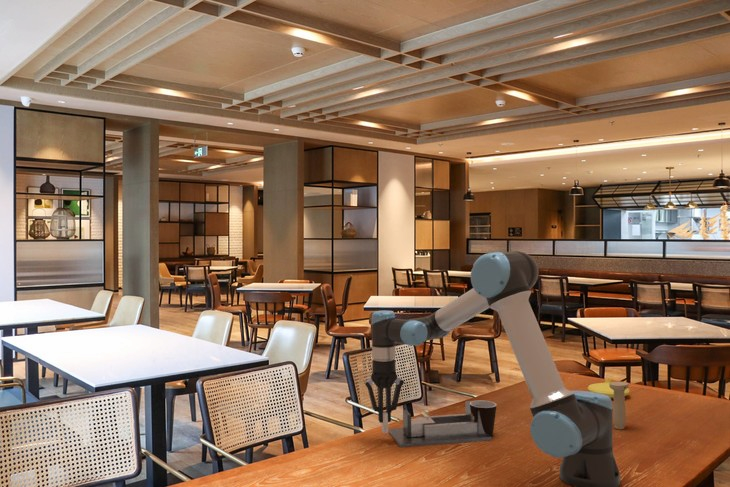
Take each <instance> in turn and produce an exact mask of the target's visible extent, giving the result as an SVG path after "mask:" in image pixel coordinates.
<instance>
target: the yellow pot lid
mask: <svg viewBox="0 0 730 487" xmlns="http://www.w3.org/2000/svg"><path fill="white" fill-rule="evenodd" d="M612 382H613V381H612V378H608V377H607V378H605V379H604V382H598V383H592V384H589V385H588V386H587V392H594V393H600V394H604V395H606V396H608V397H610V399H614V390H613V389H611V388H610V386H609V384H610V383H612ZM630 391H631V390H630V389H629V387H628V388H627V389H626V390H625V391H624V396H625V397H626V396H628V395H629V394H630Z"/></svg>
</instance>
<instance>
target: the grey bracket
mask: <svg viewBox="0 0 730 487" xmlns="http://www.w3.org/2000/svg"><path fill="white" fill-rule="evenodd" d="M411 414H412V413H410V412H409V411H408V410H407V409H402V428H403V432H404V433H405V434H406V436H407V437H416V436H424V425H431V424H435V422H434V421H433V420H432V419H431V418H430V417H429V416H430V415H429V416H428V415H427V414H426V413H425V411H421V414H422V415H423V417H426V418H412V415H411Z"/></svg>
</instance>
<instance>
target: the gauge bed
mask: <svg viewBox="0 0 730 487" xmlns="http://www.w3.org/2000/svg"><path fill="white" fill-rule="evenodd" d="M472 401H473V400H466V401H465V404H464V405H465V413H458V414H455V413H454V414H443V415H442V414H441V415H429V417H430V418H431V419H432V420H433V421H434V422H435V424H431V425H424V436H416V437H407V436H406V434H405V433H404V432H403V427H391V428H390V427H388V434H389V435H391V437H392V439H394V441H395V443H396V444H397V445H398V447H399V448H408V447H419V446H431V445H433V446H435V445H443V444H444V445H446V444H457V443H459V444H460V443H471V442H483V441H484V442H485V441H492V437H491V436H490V435H487V434H486V433H485V432H484V429H483V427H482V422H481V418H480V413H479V411H478V421H477V422H474V421H473V422H472V418H471V409H470V402H472ZM473 406H476V407H482V406H480V405H473ZM416 418H426V417H425V416H416Z"/></svg>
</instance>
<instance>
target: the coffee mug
mask: <svg viewBox="0 0 730 487" xmlns="http://www.w3.org/2000/svg"><path fill="white" fill-rule="evenodd" d="M471 401H472V402H470V409H471V418H472V422H473V421H474V422H477V421H478V411H479V413H480V418H481V422H482V427H483V429H484V432H485V433H486V434H487V435H490V436H491V438H492V437H493V436H494V428H495V423H496V421H495V420H496V413H497V405H498V404H497V403H496V402H493V401H489V400H483V399H482V400H480V399H479V400H471ZM473 405H480V406H482V407H476V406H473Z"/></svg>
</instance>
